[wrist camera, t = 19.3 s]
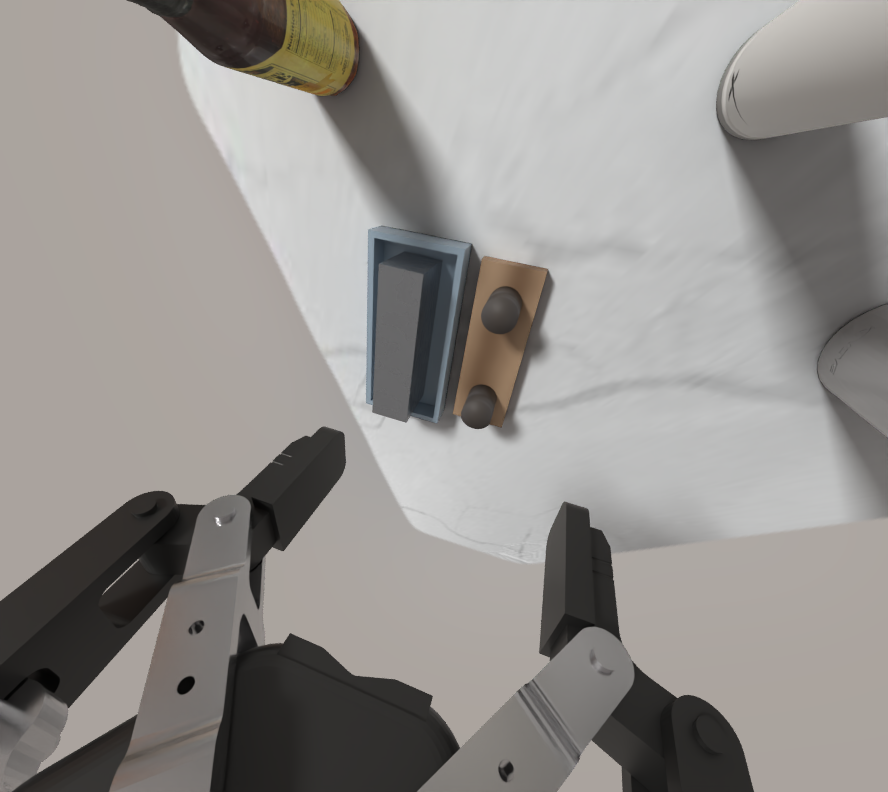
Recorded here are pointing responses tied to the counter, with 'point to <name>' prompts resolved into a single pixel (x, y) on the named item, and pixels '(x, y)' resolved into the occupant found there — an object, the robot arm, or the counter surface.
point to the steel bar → (404, 332)
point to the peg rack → (496, 339)
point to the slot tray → (447, 313)
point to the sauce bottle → (271, 38)
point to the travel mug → (808, 71)
